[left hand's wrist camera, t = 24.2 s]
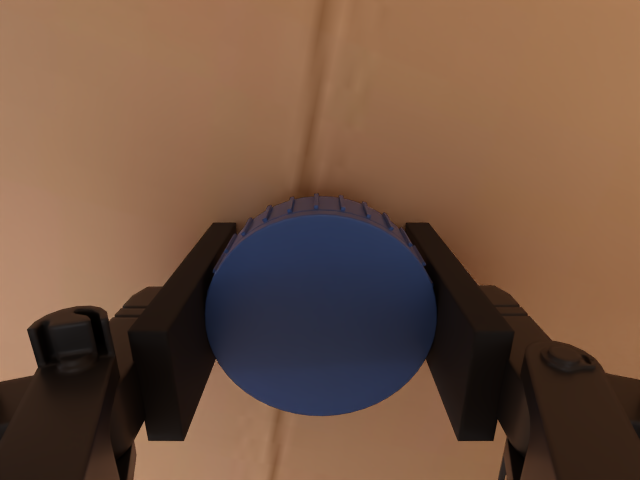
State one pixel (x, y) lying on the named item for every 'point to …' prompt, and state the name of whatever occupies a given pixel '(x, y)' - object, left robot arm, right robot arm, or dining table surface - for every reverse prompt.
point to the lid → (320, 307)
